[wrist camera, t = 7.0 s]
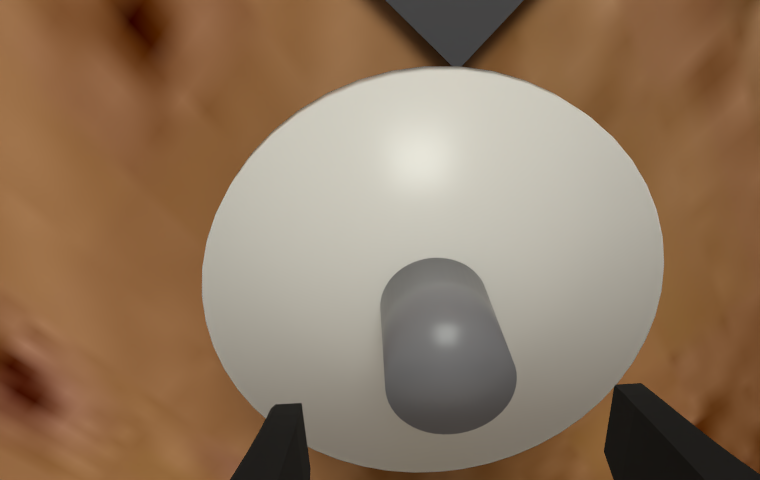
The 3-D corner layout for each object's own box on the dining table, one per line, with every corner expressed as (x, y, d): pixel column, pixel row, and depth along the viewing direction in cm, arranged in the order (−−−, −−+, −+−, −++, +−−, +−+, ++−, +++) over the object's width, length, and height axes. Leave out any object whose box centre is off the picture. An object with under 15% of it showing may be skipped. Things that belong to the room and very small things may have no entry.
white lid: (739, 270, 18) (845, 357, 14) (436, 509, 22) (453, 627, 18) (422, -55, 14) (447, -60, 10) (120, 312, 18) (54, 411, 14)
